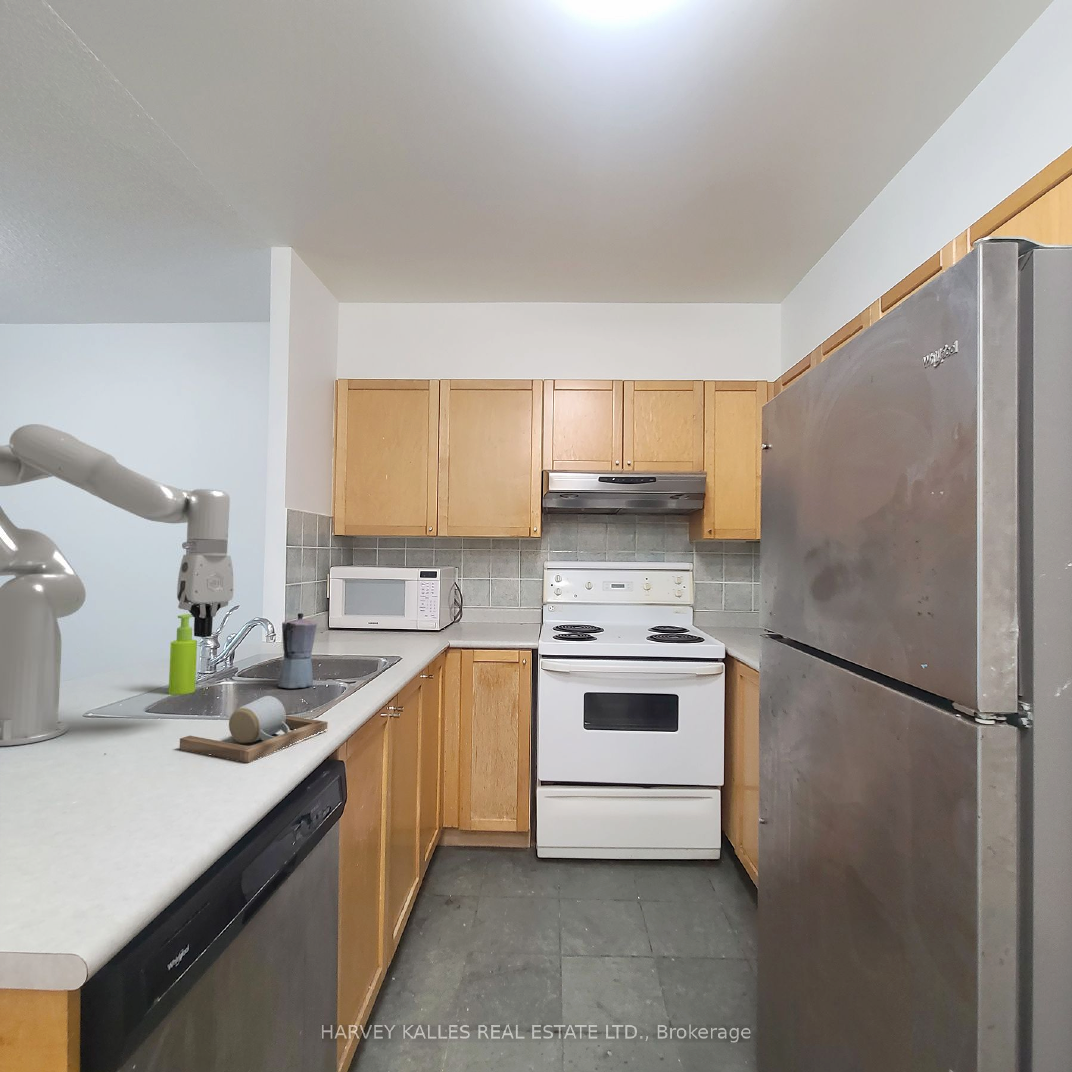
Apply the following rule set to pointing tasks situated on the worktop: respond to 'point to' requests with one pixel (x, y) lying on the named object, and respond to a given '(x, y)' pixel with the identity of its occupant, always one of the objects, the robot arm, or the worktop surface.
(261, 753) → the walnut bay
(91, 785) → the worktop surface
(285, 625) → the moka pot
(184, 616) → the soap dispenser
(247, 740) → the ceramic mug
